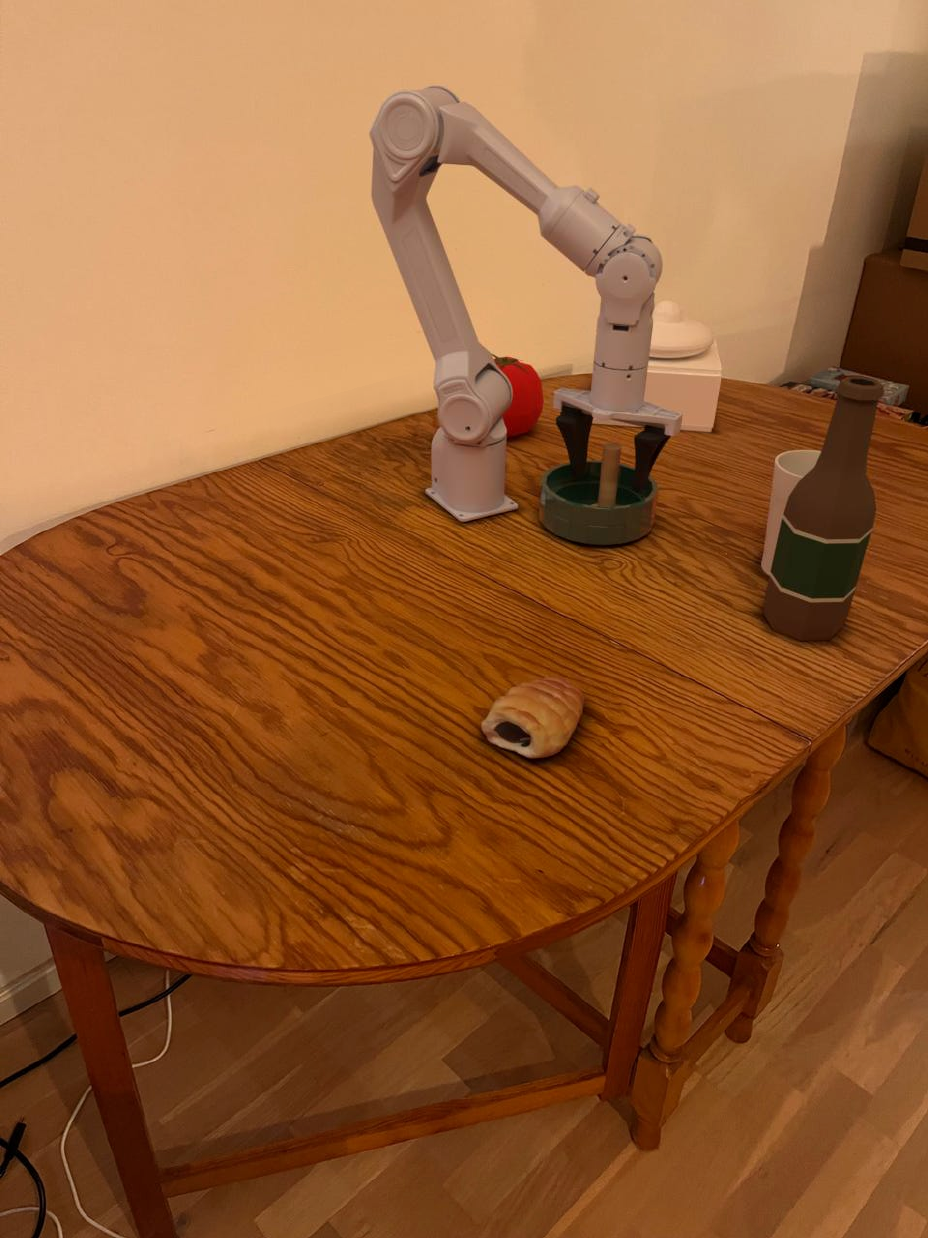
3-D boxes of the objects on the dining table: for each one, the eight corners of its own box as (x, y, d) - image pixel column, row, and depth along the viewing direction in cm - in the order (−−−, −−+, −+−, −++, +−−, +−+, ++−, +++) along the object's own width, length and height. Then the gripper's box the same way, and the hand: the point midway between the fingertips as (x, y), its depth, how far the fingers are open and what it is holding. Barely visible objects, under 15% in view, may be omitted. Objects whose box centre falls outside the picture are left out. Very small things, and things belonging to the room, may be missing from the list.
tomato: (544, 449, 125) (549, 373, 119) (454, 448, 125) (454, 372, 119) (538, 415, 136) (542, 344, 131) (455, 414, 136) (456, 342, 131)
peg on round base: (578, 517, 106) (584, 445, 102) (602, 507, 109) (610, 435, 104) (606, 531, 104) (615, 456, 99) (631, 519, 106) (640, 446, 101)
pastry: (534, 683, 80) (537, 647, 78) (603, 712, 77) (607, 675, 75) (474, 740, 74) (475, 703, 72) (546, 774, 71) (550, 736, 69)
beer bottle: (843, 609, 91) (909, 372, 78) (844, 650, 85) (915, 401, 72) (763, 595, 93) (814, 362, 80) (758, 634, 87) (812, 389, 74)
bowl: (517, 512, 109) (519, 473, 106) (606, 490, 114) (610, 452, 112) (582, 559, 99) (586, 518, 97) (676, 533, 105) (682, 493, 102)
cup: (835, 592, 94) (864, 484, 88) (755, 583, 95) (778, 477, 89) (825, 555, 101) (852, 453, 94) (751, 547, 102) (772, 446, 95)
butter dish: (589, 423, 134) (600, 312, 125) (595, 384, 149) (605, 282, 140) (712, 432, 131) (731, 319, 123) (705, 391, 146) (722, 288, 138)
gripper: (542, 358, 97) (535, 477, 104) (669, 385, 90) (652, 509, 97) (573, 343, 102) (564, 457, 109) (696, 367, 95) (678, 487, 102)
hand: (608, 480), depth 104 cm, fingers open, 7 cm apart
